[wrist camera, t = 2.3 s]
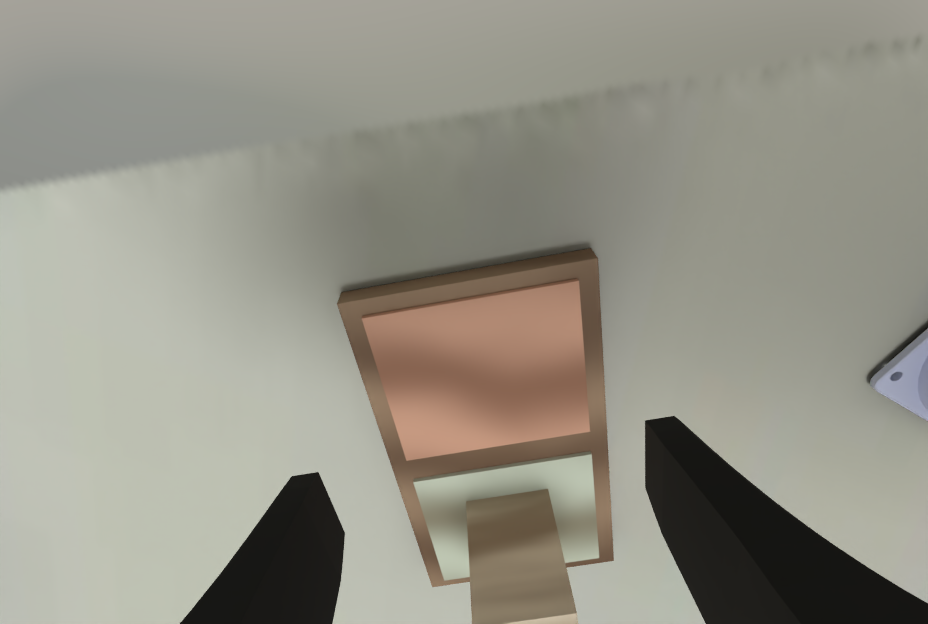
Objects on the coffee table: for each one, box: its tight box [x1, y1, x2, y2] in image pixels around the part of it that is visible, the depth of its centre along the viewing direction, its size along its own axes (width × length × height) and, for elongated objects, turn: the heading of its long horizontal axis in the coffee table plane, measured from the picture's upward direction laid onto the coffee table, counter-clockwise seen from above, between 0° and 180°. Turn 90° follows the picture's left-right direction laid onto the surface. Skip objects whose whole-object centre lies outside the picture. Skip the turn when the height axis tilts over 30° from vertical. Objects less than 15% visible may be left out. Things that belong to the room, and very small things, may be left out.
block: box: [466, 489, 578, 624], centre depth 23 cm, size 4×4×6 cm
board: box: [337, 248, 614, 587], centre depth 24 cm, size 18×10×1 cm, turn 10°
